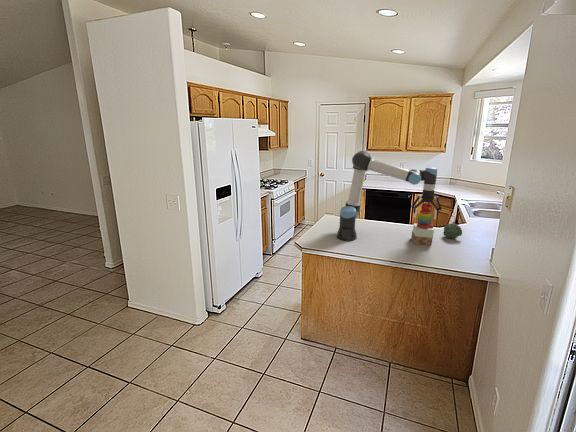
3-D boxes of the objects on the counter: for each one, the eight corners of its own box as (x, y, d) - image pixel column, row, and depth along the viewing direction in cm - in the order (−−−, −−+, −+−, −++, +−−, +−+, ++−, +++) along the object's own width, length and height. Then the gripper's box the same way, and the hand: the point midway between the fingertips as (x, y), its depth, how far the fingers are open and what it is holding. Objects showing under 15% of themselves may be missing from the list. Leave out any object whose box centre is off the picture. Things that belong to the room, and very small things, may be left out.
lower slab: (413, 244, 228) (414, 236, 226) (411, 238, 239) (412, 230, 237) (431, 245, 226) (432, 237, 224) (427, 239, 237) (429, 231, 235)
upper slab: (415, 236, 226) (416, 228, 224) (412, 230, 237) (413, 223, 236) (432, 237, 224) (434, 229, 222) (429, 232, 235) (430, 224, 233)
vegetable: (467, 235, 239) (462, 231, 228) (452, 244, 244) (447, 240, 233) (458, 222, 245) (452, 218, 234) (443, 231, 251) (437, 227, 240)
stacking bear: (423, 229, 222) (426, 205, 217) (412, 225, 231) (416, 201, 226) (434, 227, 226) (438, 204, 221) (424, 223, 235) (427, 200, 230)
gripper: (410, 189, 219) (407, 218, 226) (449, 191, 214) (444, 220, 221) (409, 187, 226) (405, 215, 233) (446, 189, 221) (441, 217, 228)
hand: (424, 218), depth 227 cm, fingers open, 13 cm apart
